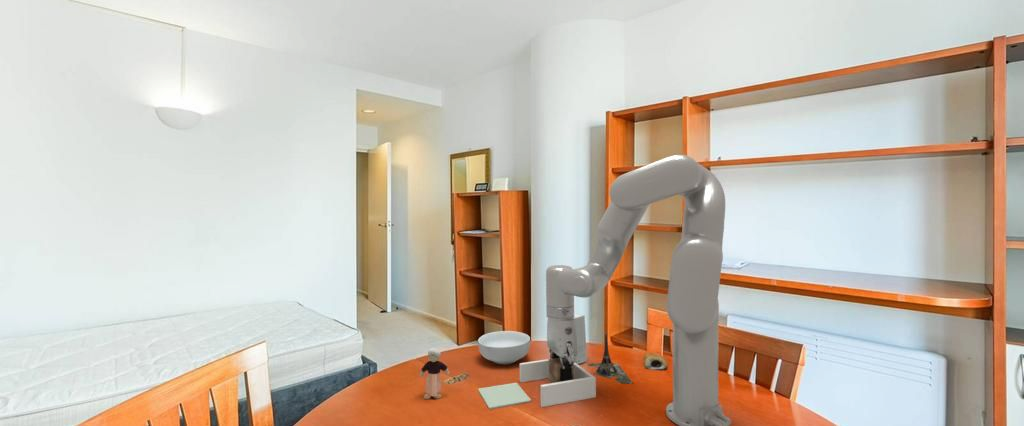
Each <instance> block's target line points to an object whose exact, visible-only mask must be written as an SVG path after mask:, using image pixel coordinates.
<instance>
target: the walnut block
mask: <svg viewBox="0 0 1024 426" xmlns="http://www.w3.org/2000/svg"><path fill="white" fill-rule="evenodd" d="M548 359H549V378H548V381H549V383H556V382H560V368H561V360H560V358H554V359H550V358H548ZM567 360H568V359H567V358H566V359H564V363H565V361H567ZM572 380H574V363H573V367H572Z"/></svg>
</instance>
